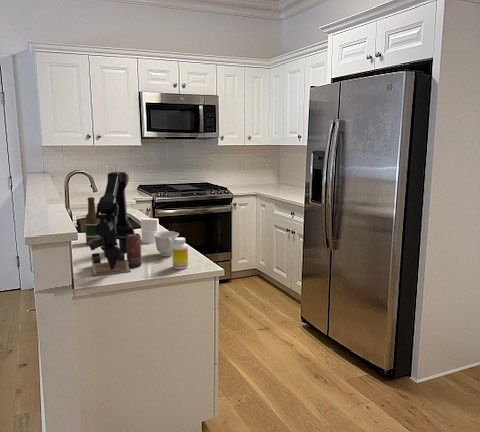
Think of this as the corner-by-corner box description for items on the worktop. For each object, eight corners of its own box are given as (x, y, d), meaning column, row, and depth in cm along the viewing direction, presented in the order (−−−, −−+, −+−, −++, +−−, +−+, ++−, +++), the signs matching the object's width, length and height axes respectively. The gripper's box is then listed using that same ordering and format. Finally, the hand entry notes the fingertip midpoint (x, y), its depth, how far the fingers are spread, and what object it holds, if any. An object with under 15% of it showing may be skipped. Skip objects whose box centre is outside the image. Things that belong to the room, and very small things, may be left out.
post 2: (116, 263, 198) (115, 251, 197) (122, 262, 199) (122, 250, 198) (118, 267, 192) (117, 255, 191) (125, 266, 194) (124, 254, 192)
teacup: (157, 261, 201) (157, 240, 199) (151, 252, 214) (150, 232, 212) (183, 258, 205) (183, 237, 203) (175, 249, 219) (175, 230, 217)
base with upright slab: (161, 239, 238) (160, 217, 236) (156, 243, 229) (155, 221, 227) (144, 238, 239) (143, 216, 236) (139, 243, 230) (138, 220, 228)
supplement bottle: (189, 269, 191) (188, 240, 188) (173, 270, 189) (173, 241, 186) (186, 264, 197) (186, 236, 194) (171, 265, 195) (170, 237, 193)
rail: (92, 271, 185) (92, 263, 184) (127, 267, 191) (127, 259, 190) (93, 273, 182) (93, 266, 181) (128, 269, 188) (128, 262, 187)
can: (142, 263, 198) (141, 232, 195) (139, 267, 192) (138, 236, 189) (129, 263, 198) (128, 232, 195) (125, 267, 191) (124, 236, 189)
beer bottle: (89, 246, 223) (86, 199, 218) (83, 243, 229) (80, 197, 224) (104, 243, 228) (101, 197, 223) (97, 240, 234) (95, 195, 229)
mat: (91, 271, 186) (91, 270, 186) (128, 267, 192) (128, 266, 192) (93, 276, 181) (93, 275, 181) (130, 271, 187) (130, 270, 186)
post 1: (92, 265, 194) (91, 253, 193) (99, 265, 195) (98, 253, 194) (93, 270, 188) (93, 257, 187) (101, 269, 190) (100, 256, 188)
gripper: (86, 227, 188) (88, 262, 191) (90, 237, 171) (92, 276, 175) (113, 224, 192) (115, 259, 196) (119, 235, 176) (121, 272, 179)
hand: (110, 266), depth 186 cm, fingers open, 7 cm apart
